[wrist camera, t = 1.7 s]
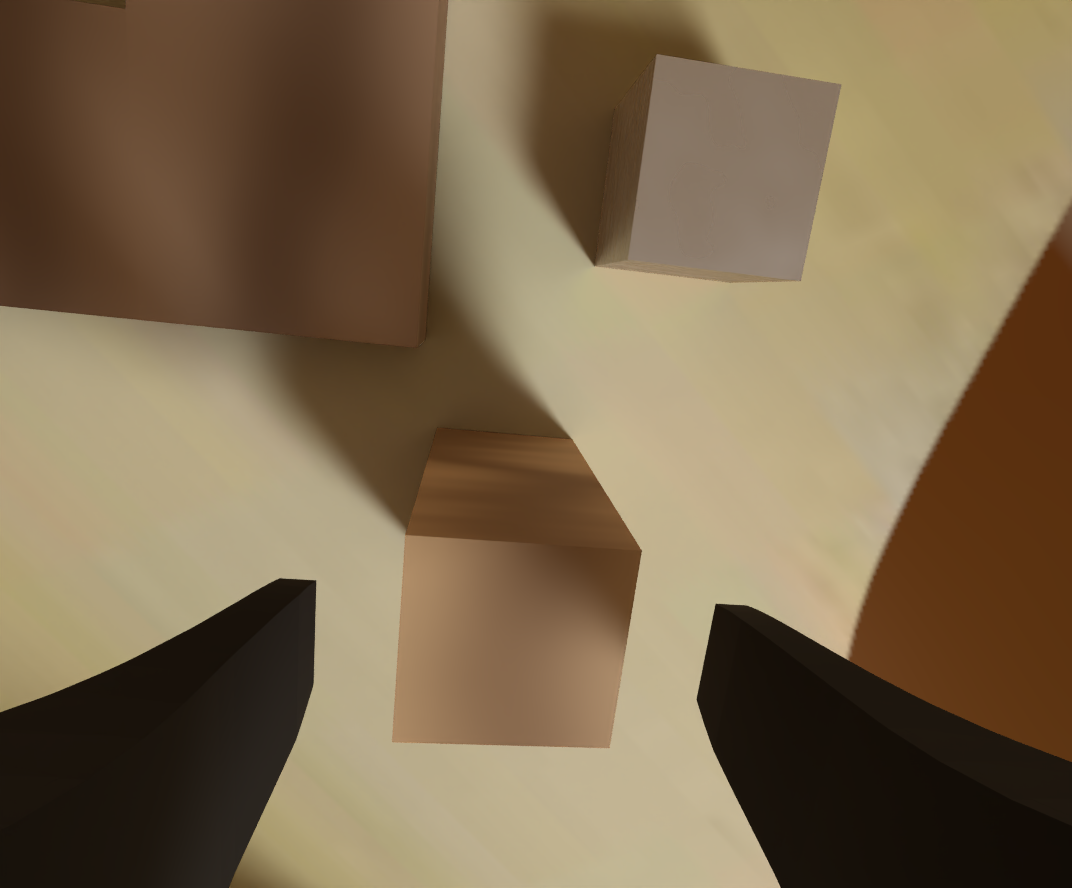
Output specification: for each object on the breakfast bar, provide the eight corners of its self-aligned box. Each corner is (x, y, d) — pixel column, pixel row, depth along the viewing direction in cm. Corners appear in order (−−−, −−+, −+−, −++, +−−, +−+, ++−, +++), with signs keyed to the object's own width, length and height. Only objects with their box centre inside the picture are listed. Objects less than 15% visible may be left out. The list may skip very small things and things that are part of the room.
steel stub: (593, 266, 17) (627, 259, 13) (613, 110, 16) (657, 54, 12) (729, 282, 18) (800, 280, 14) (756, 132, 17) (841, 84, 13)
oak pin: (427, 554, 19) (392, 742, 11) (437, 427, 18) (405, 535, 10) (556, 562, 19) (609, 747, 11) (572, 439, 18) (641, 550, 10)
